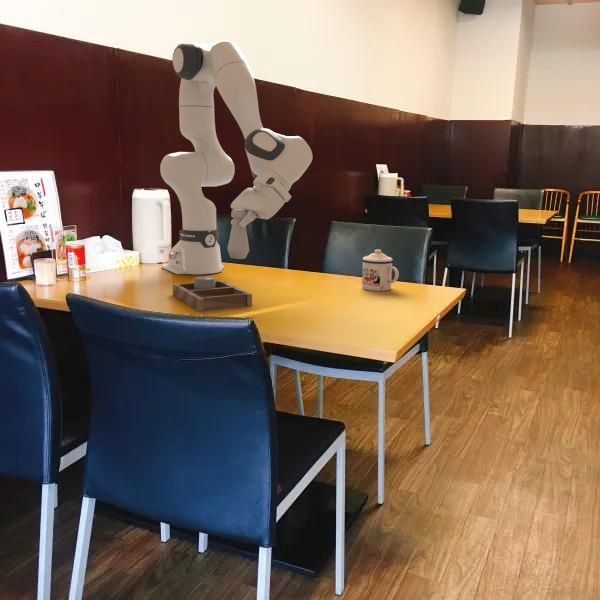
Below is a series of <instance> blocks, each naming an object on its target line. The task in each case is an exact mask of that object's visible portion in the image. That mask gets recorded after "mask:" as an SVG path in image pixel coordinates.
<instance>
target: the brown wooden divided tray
mask: <svg viewBox="0 0 600 600" xmlns="http://www.w3.org/2000/svg"><path fill="white" fill-rule="evenodd" d="M172 296H174V297H176V298H177V299H179V300H180V301H182V302H184V303H185V304H186V305H188V306H189V307H191V308H193V309H194V310H196V311H198V312H207V311H216V310H217V311H218V310H219V311H220V310H226V309H235V308H236V309H237V308H245V307H252V306H253V294H252V293H250V292H248V291H246V290H244V289H242V288H240V287H238V286H236V285H234V284H231V283H229V282H226V281H225V280H222V279H217V280H215V288H209V289H198V290H194V282H186V283H185V282H184V283H173V284H172Z"/></svg>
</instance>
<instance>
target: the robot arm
mask: <svg viewBox="0 0 600 600" xmlns="http://www.w3.org/2000/svg"><path fill="white" fill-rule="evenodd" d="M172 68H173V71H174V73H175V74H176V76H177V77H179V78H181V79H180V84H179V92H178V93H179V94H178V95H179V96H178V108H179V109H178V110H179V111H178V112H179V113H178V114H179V116H178V117H179V118H178V119H179V131H180V133H181V135H182V136H183V137H184V138H186V139H187V140H189V141H190V142H191V144H192V145H193V147H194V151H191V152H190V151H178V152H172V153H169V154H166V155H165V156H164V157H163V158H162V160H161V162H160V167H159V168H160V169H159V170H160V176H161V178H162V180H163V181H164V182H165V183H166V185H168V186H169V187H170V188H171V189H172V190H173V191H174V192H175V194H176V195H177V199H178V201H179V203H180V207H181V208H180V209H181V216H182V217H181V218H182V221H181V222H182V229H181V230H179V231H178V232H179V233H178V235H179V241H178V242H177V243H176V244H175V245H174V246H173V247H172V248H171V249H170V250H169V252H168V263H164V264H161V268H162V269H164V270H166V271H168V272H171V273H172V274H173V273H174V274H176V275H209V274H210V275H211V274H216V273H221V272H222V271H223V269H225V267H224V266H225V265H224V264H222V255H221V246H220V244H219V243H218V239H219V231H218V230H219V229H217V208H216V205H215V204H214V202H213V201H212V200H210V199H208V198H207V197H205V195H204V193H203V191H202V187H205V188H206V187H219V186H223V185H227V184H229V183H230V182H231V181H232V180H233V178H234V175H235V173H236V172H235V164H234V162H233V160H232V158H231V157H230V156H229V155H228V154H226V152H225V151H224V150H223V148H222V146H221V144H220V142H219V139H218V136H217V133H216V122H215V100H214V99H215V98H214V93H215V91H214V90H215V89H217V91H218V92H219V94H220V96H221V98H222V100H223V101H224V103H225V104H226V107H227V108H228V109H229V111H230V113H231V114H232V116H233V117H234V120H235V121H236V122H237V124H238V127H239V128H240V130H241V133H242V136H243V139H244V149H245V153H246V157H247V159H248V164H249V168H250V172H251V176H252V178H253V182H252V184H253V187H247V188H246V189H244V190H242V192H240V194H239V195H238V196H236V198H234V200H232V202H231V204H230V209H232V210H234V209H244V210H246V211H247V215H246V216H245V217H244V218H243V219H241V220H240V221H239V222H238V226H240V227H241V228H245V227H246V228H247V225H249V224H250V223H252V222H254V221H255V219H261V220H269V219H271V218H272V217H273V216H275V215H276V214H277V213H278V212H279V210H280V209H281V208H283V206H284V204H285V203H287V202H289V201H290V200H291V198H292V195H291V194H290V193H289V191H290V190H291V188H292V186H293V184H294V183H296V182H297V181H298V180H299V179H300V178H301V177H302V176H303V175H304V173H305V172H306V171H307V170H308V168H309V166H310V165H311V163H312V161H313V151H312V148H311V147H310V145H309V144H308V142H307V141H306V140H305V139H304V138H302V137H301V136H299V135H296V136H295V135H294V136H288V135H287V136H286V135H283V134H280V133H276V132H274V131H273V130H271V129H270V128H264V127H263V123H262V120H261V116H260V111H259V102H258V101H259V100H258V93H257V86H256V82H255V77H254V75H253V71H252V69H251V67H250V64H249V62H248V60H247V59H246V57H245V55H244V54H243V53H242V51H241V49H240V48H239V47H238V45H237V44H236V43H235V42H233V41H231V40H228V39H227V40H225V39H224V40H219V41H217V42H215V43H193V42H191V41H190V42H183V43H182V42H181V43H179V44H177V45H176V48H174V50H173V54H172ZM230 224H231V225H232V224H233V219H231V221H230Z"/></svg>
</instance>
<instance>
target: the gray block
mask: <svg viewBox="0 0 600 600" xmlns="http://www.w3.org/2000/svg"><path fill="white" fill-rule="evenodd" d="M215 281H216V277H214V276H205V275H204V276H197V277H194V278H193V283H194V290H198V289H209V288H215Z"/></svg>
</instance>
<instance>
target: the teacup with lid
mask: <svg viewBox="0 0 600 600" xmlns="http://www.w3.org/2000/svg"><path fill="white" fill-rule="evenodd" d="M361 261H362V276H361V277H362V278H361V279H362V280H361V288H362V289H363V290H365V291H369V292H371V291H372V292H387V291H389V290H391V289H392V284H393V283H396V282H397V280H398V278H399V275H400V274H399V270H398V268H397V267H396V266H393V262H394V259H393V258H392V257H390V256H388V255H387V254H385V253H383V252H382V250H381V249H374V252H372V253H369V255H365V256H363V257H362V260H361ZM392 271H393V272H394V277H393V279H392Z"/></svg>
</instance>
